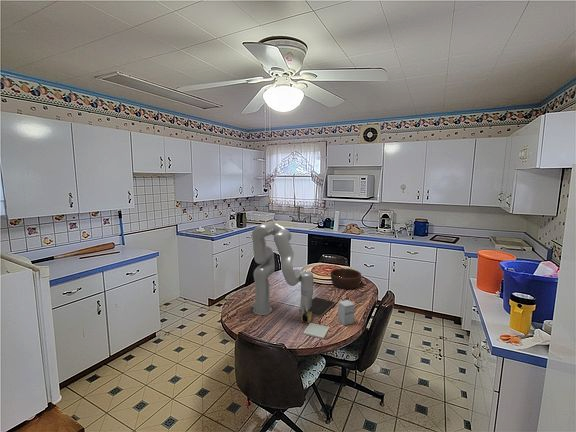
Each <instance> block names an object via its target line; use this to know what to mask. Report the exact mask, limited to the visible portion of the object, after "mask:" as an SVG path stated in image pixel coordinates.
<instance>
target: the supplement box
mask: <svg viewBox="0 0 576 432" xmlns="http://www.w3.org/2000/svg"><path fill="white" fill-rule="evenodd" d="M337 304H338V305H337V321H338V322H339V323H340V324H342V325H343V326H347V325H351V324H354V323H355V303H353V302H352V301H350V300H348V299H345V300H340V301H338V302H337Z"/></svg>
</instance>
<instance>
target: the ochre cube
mask: <svg viewBox="0 0 576 432" xmlns="http://www.w3.org/2000/svg"><path fill="white" fill-rule="evenodd" d="M305 311H306V310H305ZM304 313H306V312H304ZM307 316H308V321H307V322H306V323H309V324H310V323H311V321H312V316H313V315H312V312H310V311H308V312H307ZM300 320H301V322H304V321H302V313H301V318H300ZM304 323H305V322H304Z"/></svg>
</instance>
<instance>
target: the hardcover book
mask: <svg viewBox="0 0 576 432" xmlns="http://www.w3.org/2000/svg"><path fill="white" fill-rule="evenodd" d="M335 303H336V302H335V301H333V300H328V299H324V298H321V297H317V296H314V297H313V298H312V307H311V311H310V312H312V316H313V317H318V318H321V317H323V316H324V314H326V313H327V312H328V311H329V310H330V309H331V308H332V307H333V306H335ZM298 312H301V313H302V311H300V308H299V309H298Z"/></svg>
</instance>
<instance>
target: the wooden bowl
mask: <svg viewBox="0 0 576 432" xmlns="http://www.w3.org/2000/svg"><path fill="white" fill-rule="evenodd" d="M339 276H340V277H339ZM341 277H342V278H341ZM361 279H362V273H361V272H360V271H359V270H356V269H351V268H345V267H344V268H335V269H333V270H331V272H330V280H331V283H332V284H333V286H334V287H336V288H339V289H342V290H354V289H357V288H358V287H359V285H360V284H361V281H362V280H361Z"/></svg>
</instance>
